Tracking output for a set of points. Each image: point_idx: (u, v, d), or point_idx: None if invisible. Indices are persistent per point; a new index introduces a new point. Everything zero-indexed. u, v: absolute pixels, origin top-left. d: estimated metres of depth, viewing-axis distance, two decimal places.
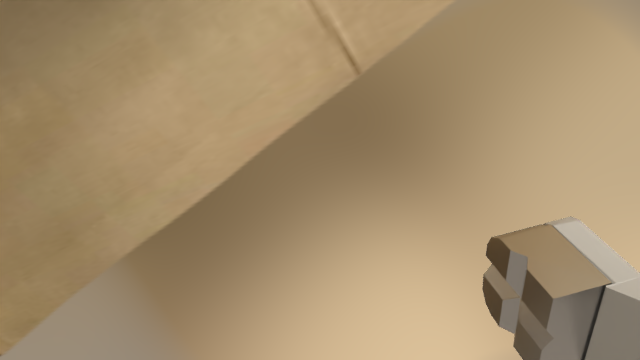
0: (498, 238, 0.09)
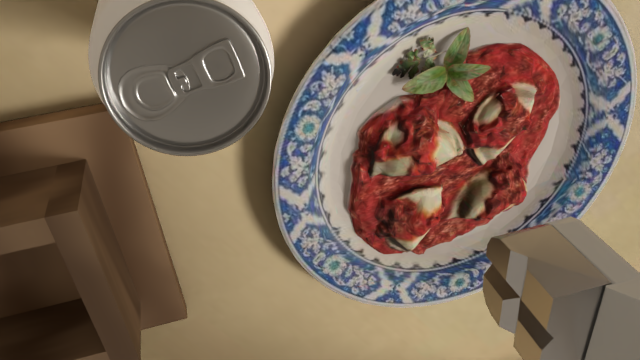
0: (498, 238, 0.09)
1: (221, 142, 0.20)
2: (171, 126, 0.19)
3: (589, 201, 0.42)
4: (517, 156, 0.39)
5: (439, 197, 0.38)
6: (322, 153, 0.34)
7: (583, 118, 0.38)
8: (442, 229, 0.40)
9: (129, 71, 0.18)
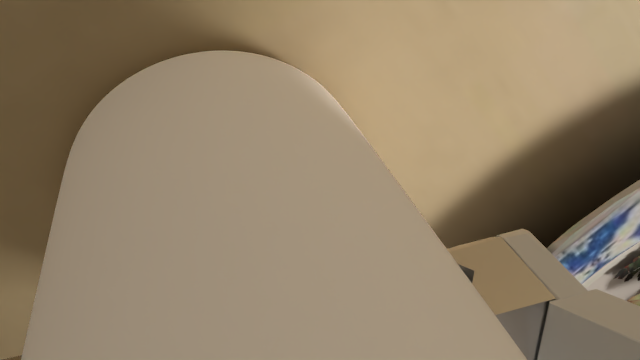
0: None
1: None
2: None
3: None
4: None
5: None
6: None
7: None
8: None
9: None
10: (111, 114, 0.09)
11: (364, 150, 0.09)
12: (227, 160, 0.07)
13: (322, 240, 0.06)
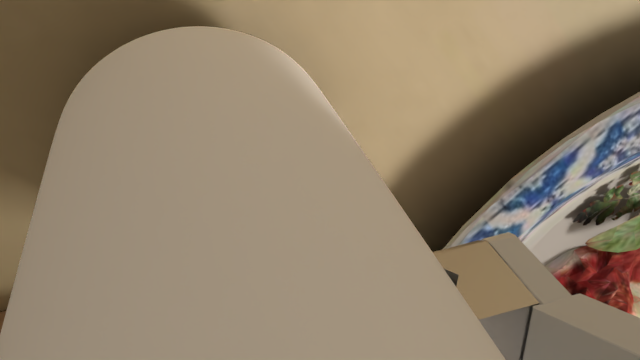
0: None
1: None
2: None
3: None
4: None
5: None
6: None
7: None
8: None
9: None
10: (96, 83, 0.10)
11: (325, 113, 0.10)
12: (194, 114, 0.08)
13: (273, 176, 0.07)
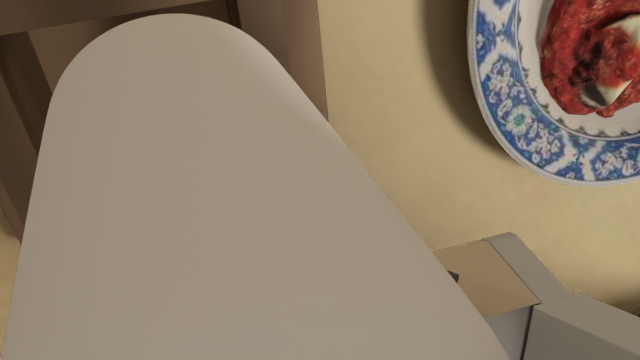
0: None
1: None
2: None
3: None
4: None
5: None
6: None
7: None
8: None
9: None
10: (91, 57, 0.12)
11: (292, 84, 0.11)
12: (184, 76, 0.09)
13: (251, 117, 0.08)
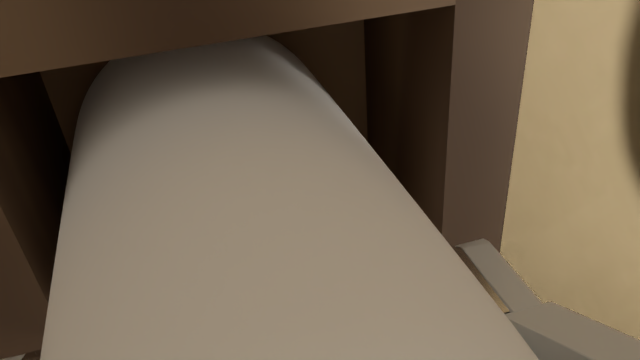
0: None
1: None
2: None
3: None
4: None
5: None
6: None
7: None
8: None
9: None
10: (126, 64, 0.11)
11: (331, 101, 0.11)
12: (228, 90, 0.09)
13: (300, 139, 0.08)
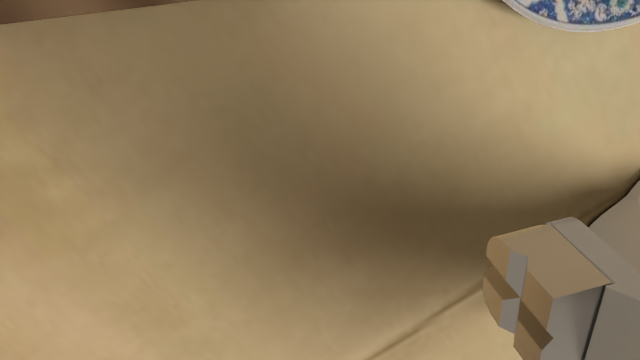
0: (498, 238, 0.09)
1: None
2: None
3: None
4: None
5: None
6: None
7: None
8: None
9: None
10: None
11: None
12: None
13: None
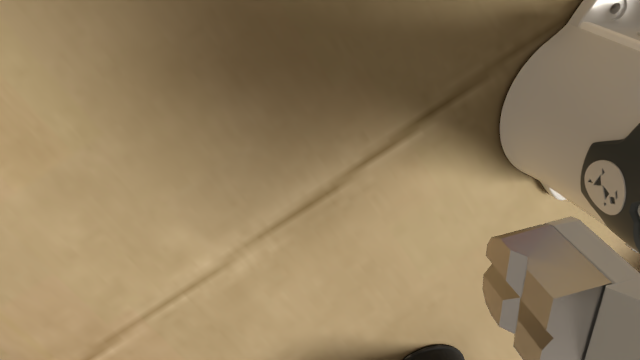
0: (498, 238, 0.09)
1: None
2: None
3: None
4: None
5: None
6: None
7: None
8: None
9: None
10: None
11: None
12: None
13: None
